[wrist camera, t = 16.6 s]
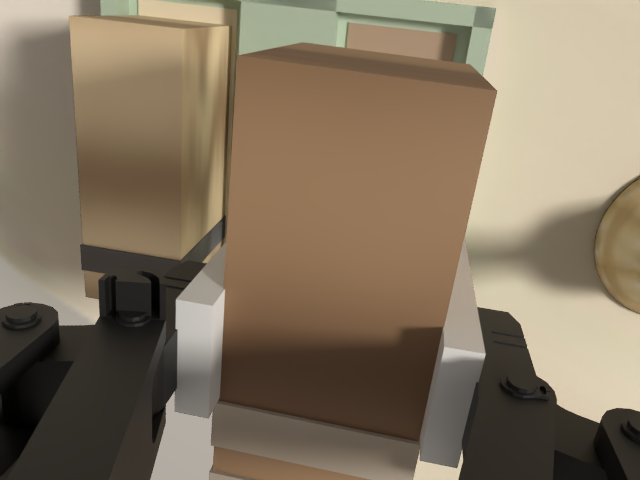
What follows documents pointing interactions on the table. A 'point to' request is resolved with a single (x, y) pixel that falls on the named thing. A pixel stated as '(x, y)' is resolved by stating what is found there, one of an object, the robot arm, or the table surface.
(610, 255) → the hand bell
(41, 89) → the table surface
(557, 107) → the table surface
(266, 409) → the walnut bar
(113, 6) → the pale green flat frame
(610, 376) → the table surface
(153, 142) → the oak bar
